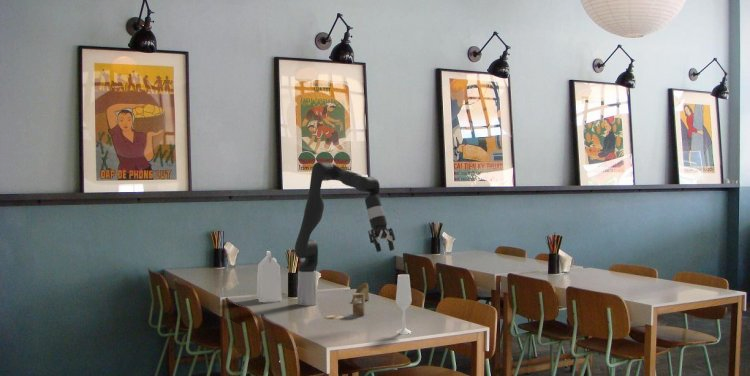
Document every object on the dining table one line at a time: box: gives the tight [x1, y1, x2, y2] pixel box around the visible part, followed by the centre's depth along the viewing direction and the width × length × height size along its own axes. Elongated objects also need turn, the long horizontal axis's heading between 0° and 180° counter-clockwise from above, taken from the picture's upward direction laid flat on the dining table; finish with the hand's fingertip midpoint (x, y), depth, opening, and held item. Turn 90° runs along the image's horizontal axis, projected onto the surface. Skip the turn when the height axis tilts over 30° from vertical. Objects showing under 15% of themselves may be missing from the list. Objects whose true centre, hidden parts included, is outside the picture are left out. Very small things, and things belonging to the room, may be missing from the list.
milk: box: [256, 250, 283, 303], centre depth 388 cm, size 12×12×26 cm
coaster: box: [323, 314, 344, 320], centre depth 337 cm, size 9×9×1 cm
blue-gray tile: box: [344, 312, 373, 319], centre depth 342 cm, size 12×12×1 cm
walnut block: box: [352, 292, 366, 316], centre depth 342 cm, size 5×5×10 cm
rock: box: [351, 282, 370, 303], centre depth 384 cm, size 11×9×10 cm
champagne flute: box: [395, 273, 413, 335], centre depth 305 cm, size 7×7×24 cm
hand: (385, 250), depth 334 cm, fingers open, 8 cm apart
